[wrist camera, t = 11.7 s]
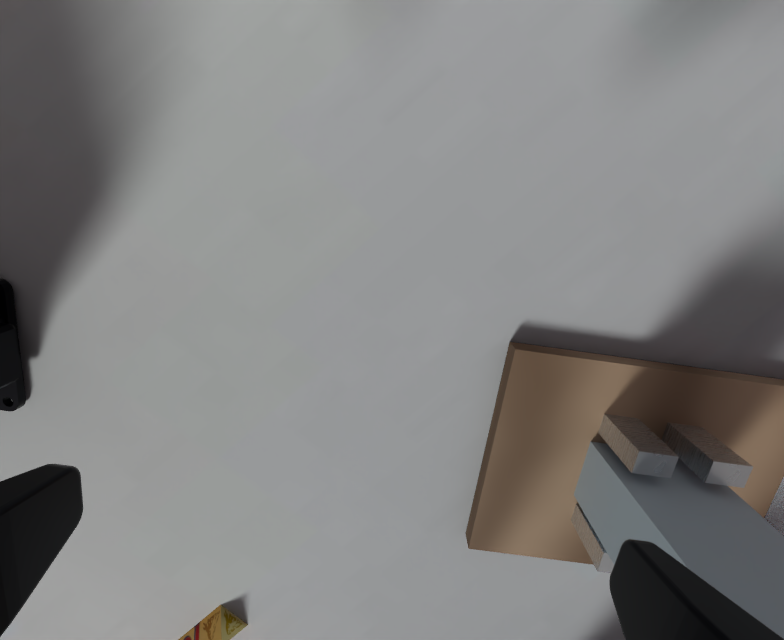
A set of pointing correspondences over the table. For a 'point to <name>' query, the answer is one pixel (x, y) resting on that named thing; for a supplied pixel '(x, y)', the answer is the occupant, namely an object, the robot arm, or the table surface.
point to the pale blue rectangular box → (688, 529)
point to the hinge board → (614, 442)
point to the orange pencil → (216, 626)
